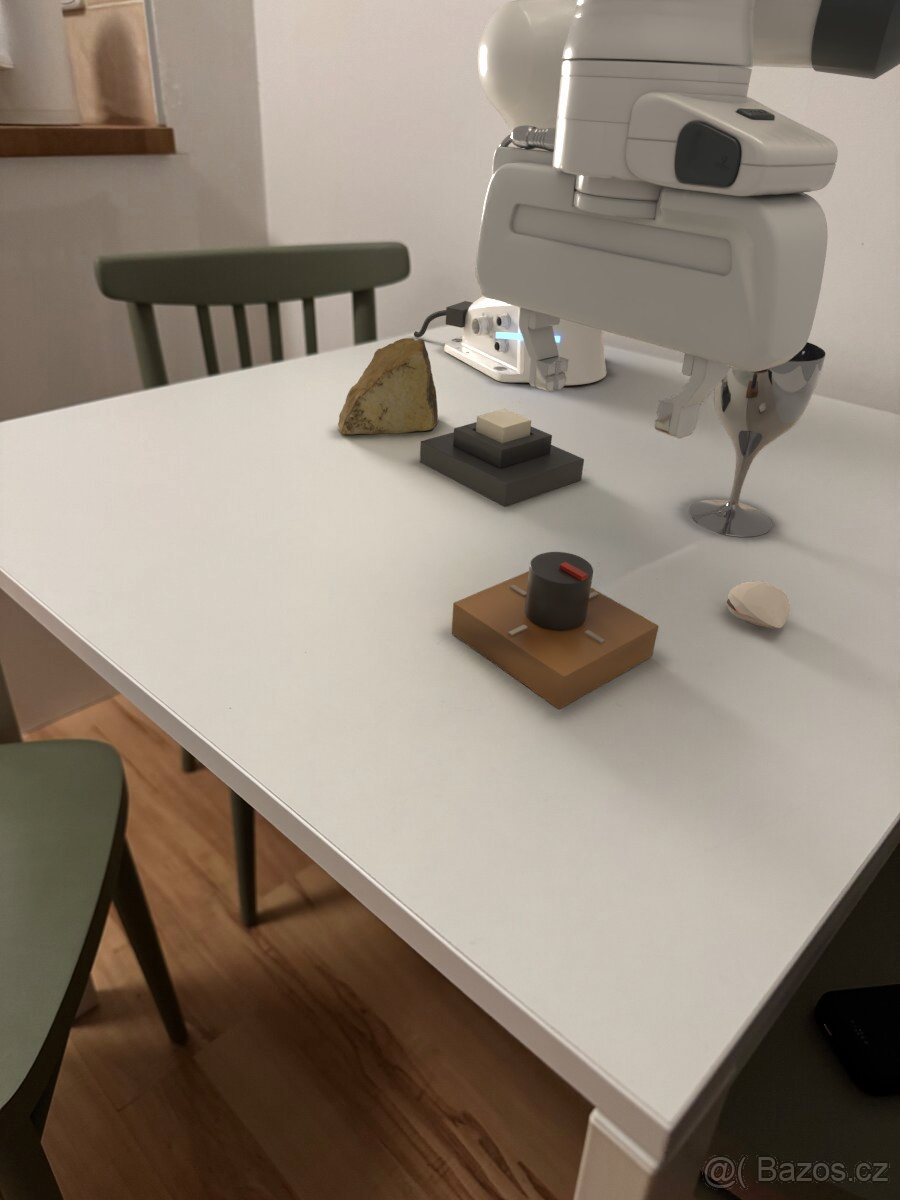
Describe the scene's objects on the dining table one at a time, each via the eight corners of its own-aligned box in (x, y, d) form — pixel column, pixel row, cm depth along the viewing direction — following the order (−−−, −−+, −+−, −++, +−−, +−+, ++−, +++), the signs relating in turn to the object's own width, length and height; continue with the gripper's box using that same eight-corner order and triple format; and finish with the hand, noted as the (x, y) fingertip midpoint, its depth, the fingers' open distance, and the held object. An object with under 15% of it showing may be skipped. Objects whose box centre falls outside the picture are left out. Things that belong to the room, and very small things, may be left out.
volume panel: (451, 633, 57) (453, 600, 55) (543, 592, 62) (547, 560, 60) (559, 709, 50) (564, 674, 49) (652, 656, 55) (659, 623, 54)
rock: (321, 423, 82) (421, 420, 80) (325, 338, 83) (423, 333, 81) (354, 453, 93) (442, 451, 91) (356, 378, 94) (444, 374, 92)
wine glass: (666, 504, 76) (700, 335, 68) (737, 493, 78) (778, 330, 70) (720, 544, 69) (765, 364, 61) (796, 531, 72) (848, 357, 64)
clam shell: (769, 602, 62) (778, 573, 61) (803, 641, 58) (813, 610, 57) (715, 605, 61) (722, 575, 60) (745, 644, 57) (754, 613, 56)
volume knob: (511, 609, 55) (517, 559, 53) (554, 590, 57) (560, 541, 55) (556, 637, 52) (563, 585, 50) (598, 616, 55) (607, 566, 53)
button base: (419, 462, 81) (420, 422, 79) (494, 440, 87) (497, 403, 85) (505, 507, 74) (509, 464, 71) (581, 480, 79) (587, 440, 77)
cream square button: (475, 433, 78) (476, 415, 77) (503, 426, 80) (504, 408, 79) (501, 445, 76) (503, 427, 75) (529, 437, 78) (531, 419, 77)
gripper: (456, 122, 46) (447, 373, 53) (801, 153, 33) (726, 478, 40) (536, 123, 49) (517, 358, 57) (875, 151, 37) (794, 450, 44)
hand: (606, 409), depth 48 cm, fingers open, 8 cm apart
